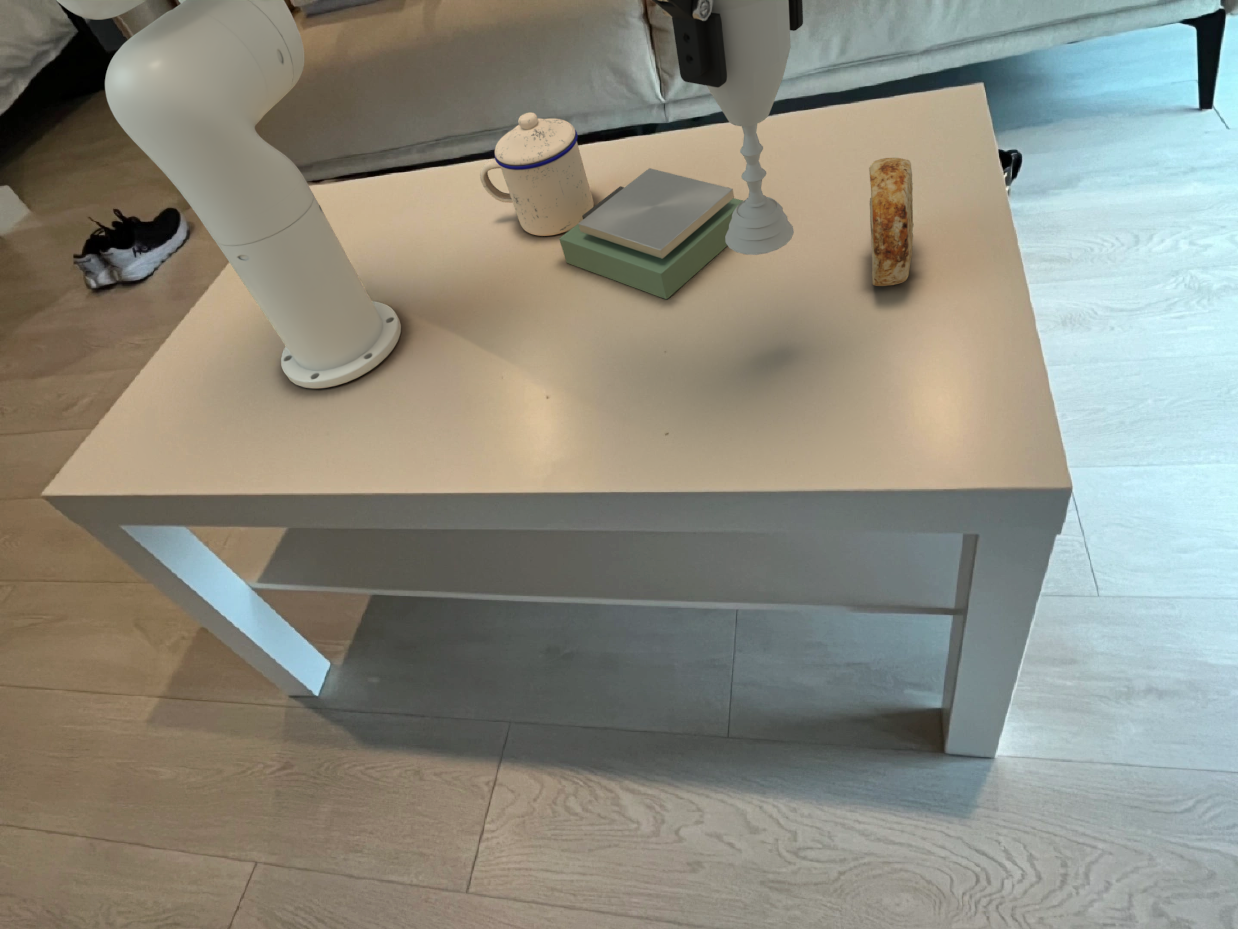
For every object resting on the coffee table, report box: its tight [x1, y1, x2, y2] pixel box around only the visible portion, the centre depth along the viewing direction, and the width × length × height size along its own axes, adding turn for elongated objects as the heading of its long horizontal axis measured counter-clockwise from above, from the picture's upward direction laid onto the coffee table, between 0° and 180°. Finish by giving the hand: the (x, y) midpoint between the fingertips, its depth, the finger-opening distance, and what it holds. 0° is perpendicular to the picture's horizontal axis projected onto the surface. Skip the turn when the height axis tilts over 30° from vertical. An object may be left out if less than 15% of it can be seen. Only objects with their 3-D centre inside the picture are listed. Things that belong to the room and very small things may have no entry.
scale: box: [558, 185, 744, 300], centre depth 83 cm, size 14×13×4 cm
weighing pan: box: [578, 167, 735, 259], centre depth 80 cm, size 11×11×1 cm
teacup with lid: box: [479, 112, 595, 237], centre depth 89 cm, size 12×9×12 cm
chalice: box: [706, 0, 795, 256], centre depth 54 cm, size 7×7×18 cm
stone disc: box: [868, 157, 914, 287], centre depth 70 cm, size 10×4×10 cm, turn 167°
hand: (742, 51), depth 51 cm, fingers closed on chalice, 7 cm apart
